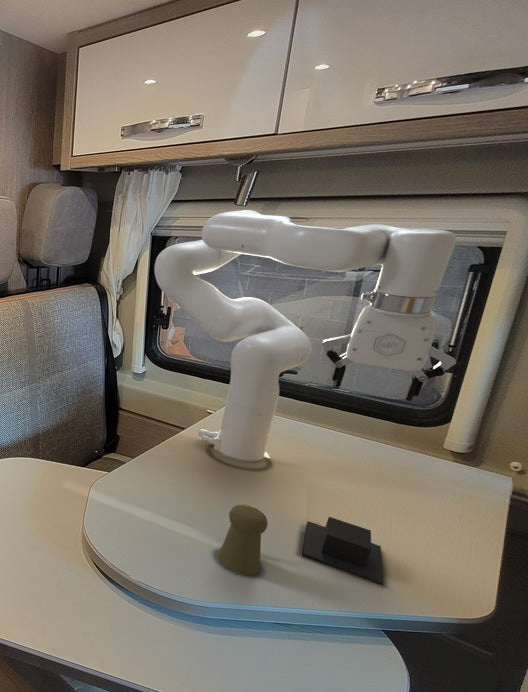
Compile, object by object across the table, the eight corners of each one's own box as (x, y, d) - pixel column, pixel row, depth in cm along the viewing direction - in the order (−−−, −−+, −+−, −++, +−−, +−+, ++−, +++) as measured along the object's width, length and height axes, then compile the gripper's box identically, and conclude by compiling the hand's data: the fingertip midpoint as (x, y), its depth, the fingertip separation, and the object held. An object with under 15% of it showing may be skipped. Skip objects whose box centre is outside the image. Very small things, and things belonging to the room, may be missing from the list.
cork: (252, 557, 79) (265, 503, 76) (264, 582, 74) (278, 525, 71) (213, 550, 81) (223, 496, 78) (222, 574, 76) (233, 517, 73)
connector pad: (321, 552, 78) (327, 534, 77) (322, 533, 82) (328, 516, 81) (364, 568, 75) (371, 549, 73) (364, 548, 78) (370, 530, 77)
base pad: (301, 557, 79) (305, 546, 78) (306, 525, 85) (309, 514, 85) (380, 588, 72) (385, 576, 71) (379, 550, 79) (383, 539, 78)
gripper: (335, 301, 81) (310, 386, 88) (480, 315, 71) (441, 412, 77) (336, 292, 87) (313, 373, 93) (472, 304, 76) (436, 396, 82)
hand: (371, 391), depth 85 cm, fingers open, 9 cm apart
